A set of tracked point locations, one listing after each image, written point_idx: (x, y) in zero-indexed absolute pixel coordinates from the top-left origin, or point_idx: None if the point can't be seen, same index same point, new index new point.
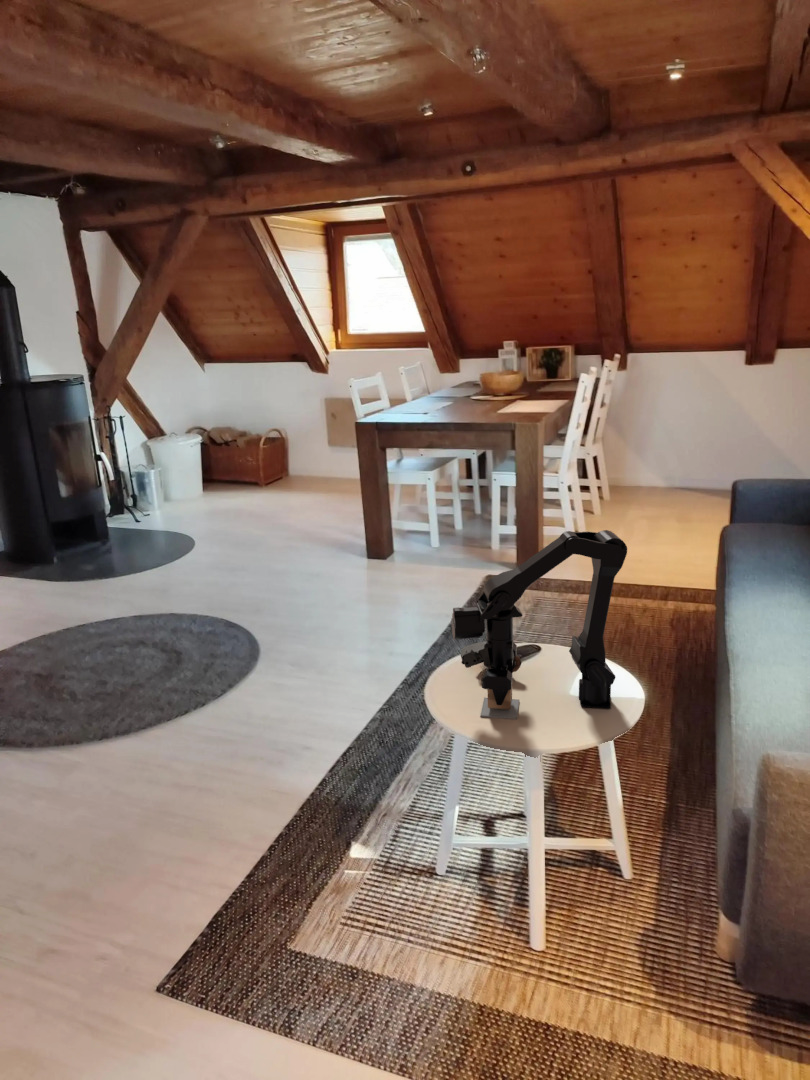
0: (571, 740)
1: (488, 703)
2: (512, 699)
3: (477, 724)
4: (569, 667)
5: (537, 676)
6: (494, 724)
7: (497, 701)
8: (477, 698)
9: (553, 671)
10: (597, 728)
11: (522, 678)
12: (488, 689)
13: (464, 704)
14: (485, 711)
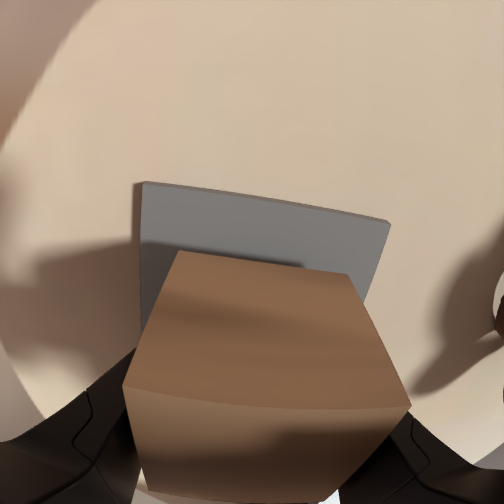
0: None
1: (171, 274)
2: None
3: (64, 164)
4: (460, 452)
5: (467, 409)
6: (79, 261)
7: None
8: (401, 176)
9: (465, 433)
10: (146, 487)
11: (481, 376)
12: (130, 375)
13: (330, 74)
14: (195, 220)
